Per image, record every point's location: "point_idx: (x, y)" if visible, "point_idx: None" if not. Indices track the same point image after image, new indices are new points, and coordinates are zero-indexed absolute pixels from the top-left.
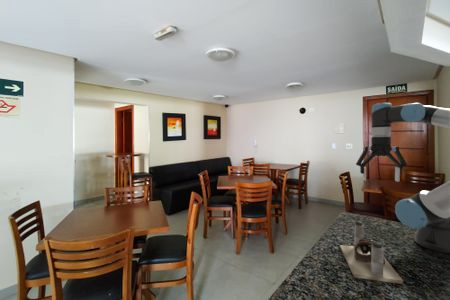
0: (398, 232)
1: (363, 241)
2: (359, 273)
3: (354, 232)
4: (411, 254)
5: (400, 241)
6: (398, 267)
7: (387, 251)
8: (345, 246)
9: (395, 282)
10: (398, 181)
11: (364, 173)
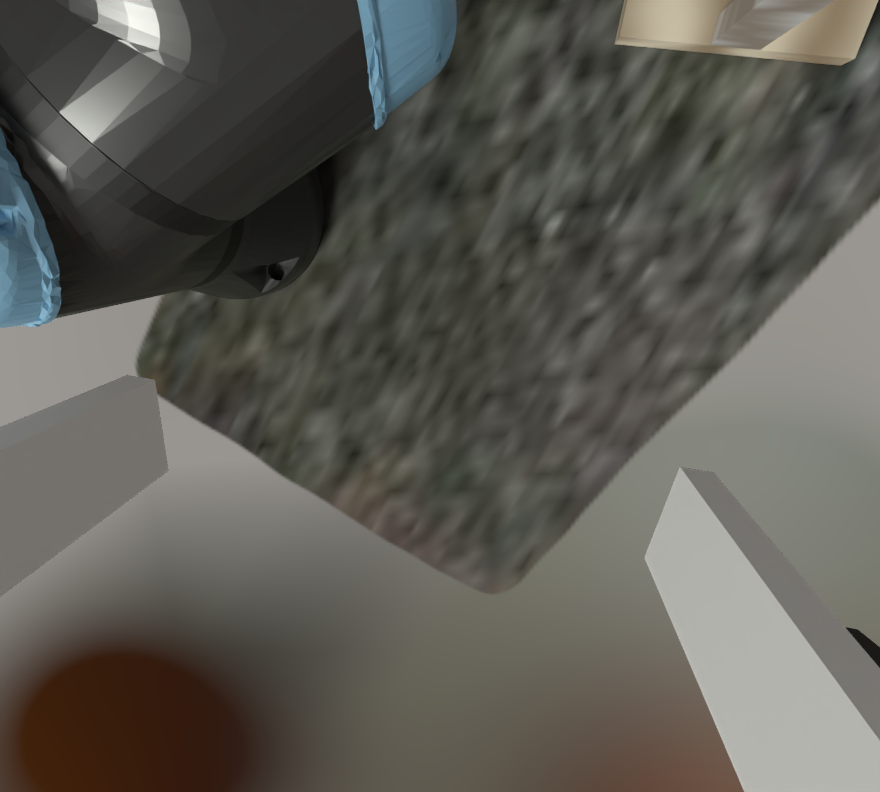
0: (348, 349)
1: None
2: None
3: (830, 1)
4: None
5: (397, 226)
6: None
7: (547, 62)
8: (828, 37)
9: None
10: (138, 378)
11: (816, 599)
